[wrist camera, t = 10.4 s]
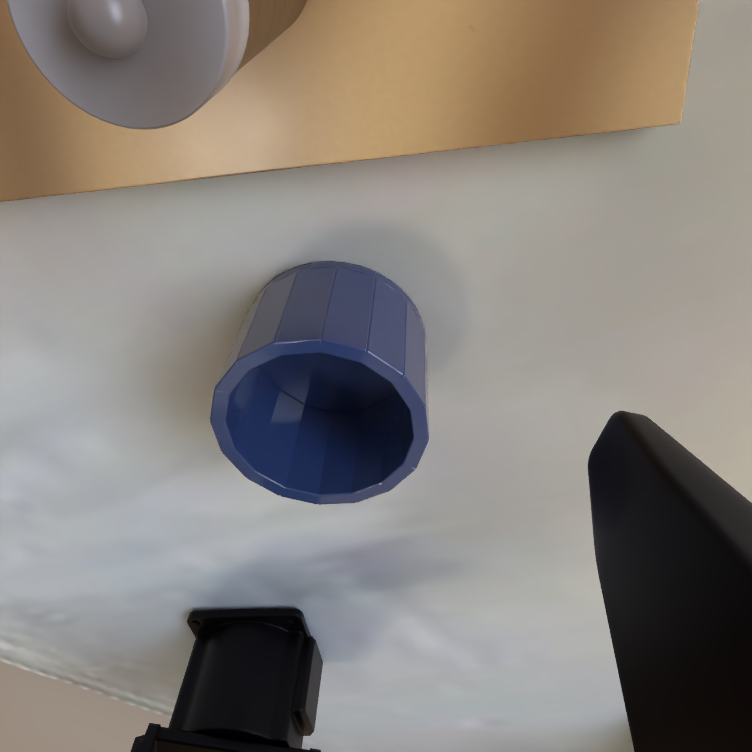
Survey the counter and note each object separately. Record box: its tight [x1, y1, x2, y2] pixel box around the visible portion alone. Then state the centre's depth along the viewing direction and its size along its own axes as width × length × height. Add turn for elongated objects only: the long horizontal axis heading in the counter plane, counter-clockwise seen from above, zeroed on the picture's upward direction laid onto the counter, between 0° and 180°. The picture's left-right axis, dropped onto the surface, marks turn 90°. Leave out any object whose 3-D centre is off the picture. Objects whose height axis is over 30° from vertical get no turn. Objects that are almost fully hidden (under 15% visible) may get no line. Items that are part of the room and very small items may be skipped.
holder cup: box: [210, 261, 429, 504], centre depth 21 cm, size 7×7×5 cm
